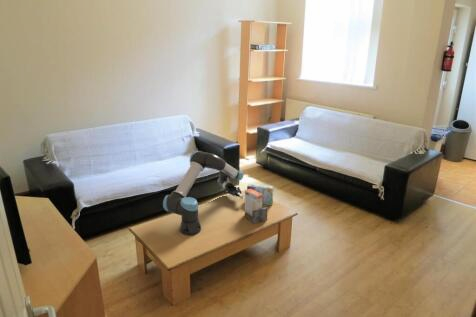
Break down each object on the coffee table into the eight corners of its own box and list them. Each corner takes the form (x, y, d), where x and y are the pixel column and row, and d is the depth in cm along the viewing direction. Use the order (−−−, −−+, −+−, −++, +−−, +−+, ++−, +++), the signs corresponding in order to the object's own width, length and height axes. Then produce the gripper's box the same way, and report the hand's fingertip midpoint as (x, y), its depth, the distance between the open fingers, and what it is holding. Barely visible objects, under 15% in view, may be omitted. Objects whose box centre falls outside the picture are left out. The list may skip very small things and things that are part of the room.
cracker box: (262, 219, 262) (263, 194, 255) (256, 221, 258) (256, 196, 251) (250, 212, 272) (250, 188, 265) (244, 214, 269) (244, 189, 262)
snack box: (272, 202, 288) (273, 186, 283) (271, 205, 283) (272, 188, 278) (248, 199, 293) (248, 183, 288) (246, 202, 288) (246, 185, 283)
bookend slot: (253, 223, 256) (253, 211, 252) (244, 216, 266) (244, 204, 263) (267, 219, 261) (267, 207, 258) (258, 212, 272) (258, 201, 268)
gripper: (235, 188, 303) (248, 199, 283) (221, 191, 297) (234, 203, 277) (235, 181, 300) (249, 191, 281) (221, 183, 294) (234, 194, 275)
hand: (242, 197), depth 279 cm, fingers closed
